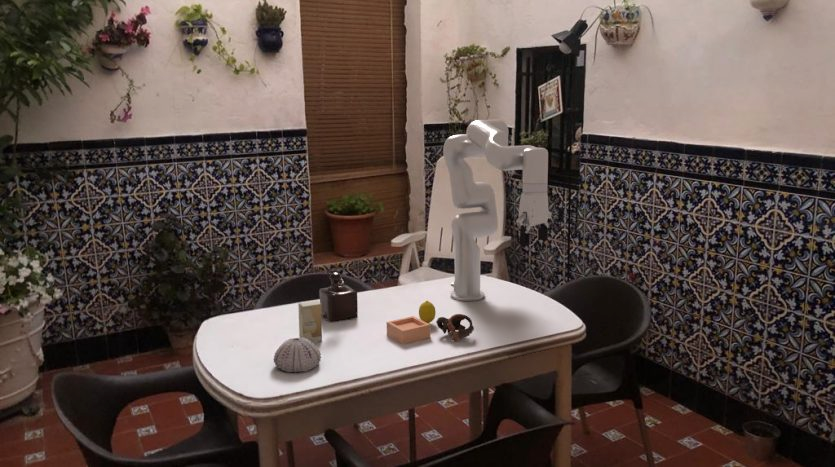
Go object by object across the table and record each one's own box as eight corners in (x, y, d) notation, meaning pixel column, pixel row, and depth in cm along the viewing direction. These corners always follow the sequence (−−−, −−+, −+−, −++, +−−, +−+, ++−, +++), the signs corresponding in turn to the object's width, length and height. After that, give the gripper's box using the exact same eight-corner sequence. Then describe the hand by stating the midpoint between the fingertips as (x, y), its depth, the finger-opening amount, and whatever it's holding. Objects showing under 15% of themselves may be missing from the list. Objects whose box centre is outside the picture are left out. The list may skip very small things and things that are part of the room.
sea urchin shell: (322, 355, 201) (320, 329, 199) (321, 374, 188) (320, 346, 186) (276, 358, 199) (274, 332, 198) (272, 377, 186) (270, 349, 184)
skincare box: (303, 344, 209) (301, 306, 206) (299, 340, 213) (297, 302, 210) (323, 340, 212) (321, 303, 209) (318, 336, 216) (316, 299, 213)
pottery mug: (473, 332, 218) (478, 315, 213) (466, 354, 211) (471, 337, 206) (437, 321, 220) (441, 304, 214) (429, 343, 213) (433, 325, 207)
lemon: (436, 321, 228) (435, 298, 226) (435, 326, 222) (434, 303, 221) (419, 321, 228) (419, 298, 227) (418, 326, 223) (417, 303, 221)
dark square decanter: (317, 314, 237) (315, 264, 233) (347, 309, 242) (345, 260, 238) (333, 327, 224) (331, 274, 220) (364, 322, 228) (362, 270, 225)
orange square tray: (386, 334, 216) (386, 322, 215) (413, 328, 221) (413, 316, 221) (403, 344, 208) (402, 330, 207) (430, 337, 213) (430, 324, 212)
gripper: (540, 184, 217) (539, 236, 221) (507, 190, 205) (507, 245, 209) (561, 186, 212) (559, 239, 216) (528, 192, 200) (527, 249, 204)
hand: (533, 242), depth 212 cm, fingers open, 9 cm apart
